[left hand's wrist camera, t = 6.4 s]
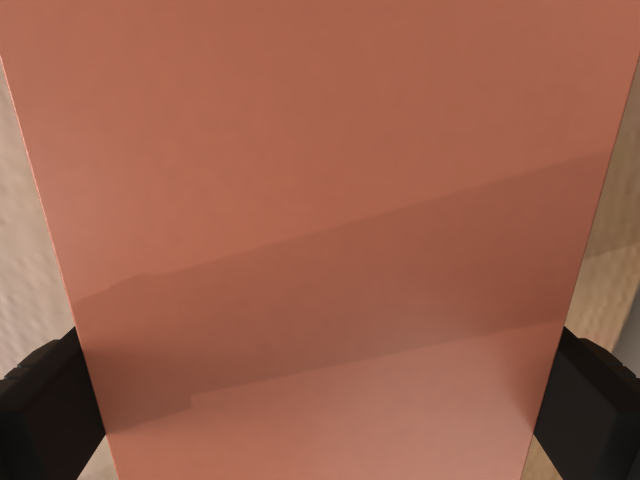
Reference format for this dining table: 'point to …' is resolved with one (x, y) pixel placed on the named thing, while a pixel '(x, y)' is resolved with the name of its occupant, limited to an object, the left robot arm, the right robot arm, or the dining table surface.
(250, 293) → the cabinet
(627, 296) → the dining table surface
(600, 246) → the dining table surface
